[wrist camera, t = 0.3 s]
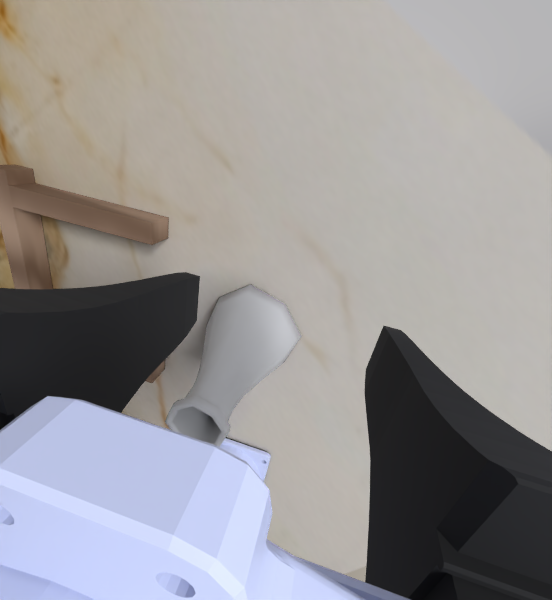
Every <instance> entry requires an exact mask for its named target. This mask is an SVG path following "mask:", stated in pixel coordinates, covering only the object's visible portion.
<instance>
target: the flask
mask: <svg viewBox="0 0 552 600" xmlns="http://www.w3.org/2000/svg"><path fill="white" fill-rule="evenodd" d="M300 338H301V334H300V332H299V330H298V328H297V326H296V324H295V322H294V320H293V318H292V316H291V314H290V312H289V310H288V308H287V306H286V304H285V303H283V302H281V301H280V300H278V299H276V298H274V297H273V296H271V295H269V294H267V293H266V292H264V291H262V290H260V289H258V288H257V287H255V286H253V285H248V286H246V287H243V288H241V289H238V290H236V291H233V292H231V293H229V294H226V295H224V296H221V297H219V299H218V302H217V304H216V306H215V308H214V310H213V313H212V315H211V317H210V319H209V322H208V324H207V328H206V334H205V341H204V348H203V354H202V359H201V364H200V369H199V373H198V376H197V378H196V381H195V383H194V385H193V387H192V388H191V390H190V391H189V393H188V394H187V396H186V397H185V398H184V399H181V400H178V401H176V402H175V403H174V404H173V406H172V407H171V410H170V412H169V414H168V416H167V418H166V421H165V422H166V424H167V425H168V427H169V428H170V429H171V430H172V431H175V432H178V433H181V434H184V435H187V436H190V437H193V438H195V439H198V440H201V441H204V442H207V443H210V444H213V445H216V446H218V447H220V445H221V444H222V442H223V441H224V439H225V438H226V436H227V435H228V433H229V431H230V424H229V423H228V420H229V417H230V415H231V413H232V411H233V409H234V408H235V407H236V405H237V404H238V403H239V401H240V400H241V399H242V397H243V396H244V395H245V394H246V393H248V392H249V391H250V390H251V389H252V388H253V387H254V386H256V385H257V384H258V383H259V382H260V381H261V380H262V379H263V378H265V377H266V376H267V375H269V374H270V373H271V372H272V371H274V370H275V369H276V368H278V367H279V366H280V365H281V364H282V363H283V362H285V360H286V359H287V357H288V356H289V354H290V353H291V351H292V350H293V348H294V347H295V345H296V344H297V342H298V341H299V339H300Z"/></svg>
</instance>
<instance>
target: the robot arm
mask: <svg viewBox="0 0 552 600" xmlns="http://www.w3.org/2000/svg"><path fill="white" fill-rule="evenodd" d="M199 280H200V276H197V275H193V274H189V273H186V272H185V273H174V274H168V275H163V276H158V277H153V278H148V279H143V280H137V281H131V282H125V283H119V284H113V285H106V286H98V287H87V288H72V289H8V288H0V600H552V451H550V450H548V449H546V448H545V447H543V446H541V445H540V444H538V443H536V442H535V441H533V440H532V439H530V438H528V437H527V436H525V435H524V434H522V433H521V432H519V431H517V430H516V429H514V428H513V427H512V426H510V425H509V424H507V423H506V422H504V421H503V420H501V419H500V418H498V417H497V416H495V415H494V414H493V413H491V412H490V411H489V410H487V409H486V408H485V407H483V406H482V405H481V404H479V403H478V402H477V401H476V400H474V399H473V398H472V397H471V396H469V395H468V394H467V393H465V392H464V391H463V390H462V389H461V388H460V387H458V386H457V385H456V384H455V383H454V382H453V381H452V380H451V379H450V378H448V377H447V376H446V375H445V374H444V373H443V372H442V371H441V370H440V369H439V368H438V367H437V366H436V365H435V364H434V363H433V362H432V361H431V360H430V359H429V358H428V357H427V356H426V355H425V354H424V353H423V352H422V351H421V350H420V349H419V348H418V347H417V346H416V345H415V343H414V342H413V341H412V340H411V339H410V338H409V337H408V336H407V335H406V334H405V333H403V332H402V331H401V330H398V329H394V328H390V327H387V326H383V329H382V331H381V334H380V336H379V339H378V341H377V343H376V346H375V348H374V351H373V353H372V356H371V358H370V361H369V363H368V366H367V368H366V377H365V402H366V413H367V423H368V434H369V444H370V460H371V465H370V509H369V532H368V551H367V567H366V581H365V582H362V581H360V580H357V579H355V578H352V577H349V576H347V575H344V574H341V573H339V572H336V571H333V570H331V569H328V568H325V567H323V566H320V565H317V564H315V563H312V562H309V561H307V560H304V559H301V558H299V557H296V556H294V555H292V554H290V553H289V552H287V551H285V550H284V549H282V548H280V547H279V546H277V545H275V544H274V543H272V542H271V541H269V540H267V534H268V530H269V526H270V521H271V517H272V507H271V499H270V491H269V489H268V487H267V486H266V485H265V483H264V479H265V476H266V472H267V468H268V465H269V461H270V458H271V456H270V454H269V453H267V452H265V451H262V450H259V449H256V448H253V447H250V446H247V445H244V444H241V443H239V442H236V441H233V440H230V439H227V438H225V439H224V441H223V442H222V444H221V445H220V447H218V446H216V445H213V444H210V443H207V442H204V441H201V440H198V439H195V438H193V437H190V436H187V435H184V434H181V433H178V432H175V431H172V430H169V429H166V428H163V427H160V426H157V425H154V424H151V423H149V422H146V421H143V420H140V419H137V418H134V417H131V416H128V415H125V414H122V413H121V412H122V410H123V409H124V408H125V406H126V405H127V404H128V402H129V401H130V400H131V398H132V397H133V396H134V394H135V393H136V392H137V390H138V389H139V388H140V386H141V385H142V384H143V383H144V382H145V380H146V379H147V378H148V377H149V376H150V375H151V374H152V373H153V372H154V371H155V370H156V369H157V367H158V366H159V365H160V364H161V363H162V362H163V361H164V360H165V359H166V358H167V357H168V356H169V355H170V354H171V353H172V352H173V351H174V349H175V348H176V347H177V346H178V345H179V344H180V343H181V342H182V341H183V340H184V338H185V337H186V336H187V334H188V333H189V331H190V330H191V328H192V327H193V325H194V324H195V322H196V321H197V308H198V294H199Z"/></svg>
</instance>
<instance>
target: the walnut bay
mask: <svg viewBox="0 0 552 600" xmlns="http://www.w3.org/2000/svg"><path fill="white" fill-rule="evenodd" d="M41 215H44V216H47V217H51V218H55V219H58V220H62V221H66V222H69V223H73V224H77V225H81V226H84V227H88V228H92V229H95V230H99V231H103V232H106V233H110V234H114V235H117V236H121V237H125V238H128V239H132V240H136V241H140V242H143V243H147V244H151V245H153V244H155V243H158V242H160V241H162V240H165V239H167V238H168V222H169V218H168V217H164V216H160V215H156V214H153V213H149V212H145V211H141V210H137V209H133V208H129V207H125V206H121V205H118V204H114V203H110V202H106V201H102V200H98V199H94V198H90V197H87V196H83V195H79V194H75V193H71V192H67V191H63V190H59V189H55V188H52V187H48V186H44V185H40V184H36V183H35V179H34V173H33V169H30V168H26V167H22V166H19V165H0V225H1V229H2V234H3V238H4V242H5V247H6V251H7V255H8V260H9V264H10V268H11V273H12V277H13V281H14V286H15V289H53V287H52V281H51V275H50V269H49V263H48V257H47V251H46V245H45V239H44V233H43V227H42V221H41ZM164 369H165V360H164V361H163V362H162V363H161V364H160V365H159V366H158V367H157V369H156V370H155V371H154V372H153V373H152V374H151V375H150V376H149V377H148V378H147V379H146V380H145V381H147V382H150V383H153V381H154V380H155V379H156V378H157V377H158V376H159V375H160V374H161V373H162V371H163V370H164Z"/></svg>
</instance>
